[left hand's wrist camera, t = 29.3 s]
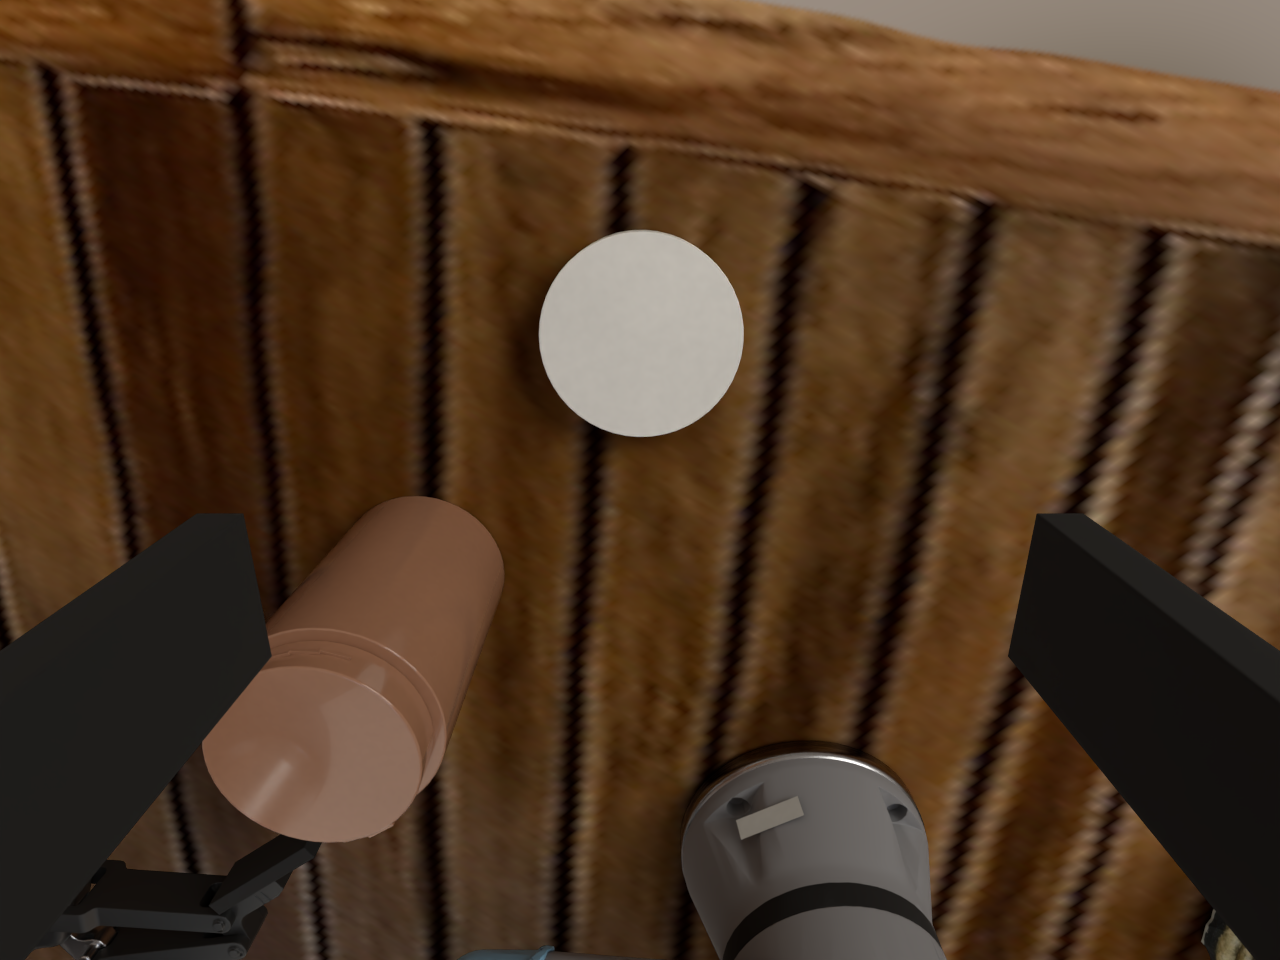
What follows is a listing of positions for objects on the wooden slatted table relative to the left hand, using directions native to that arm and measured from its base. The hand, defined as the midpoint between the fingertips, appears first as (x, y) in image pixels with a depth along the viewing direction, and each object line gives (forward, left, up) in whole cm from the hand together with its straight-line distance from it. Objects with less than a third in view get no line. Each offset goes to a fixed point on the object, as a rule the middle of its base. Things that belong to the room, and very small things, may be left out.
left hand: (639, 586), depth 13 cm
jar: (-14, +11, -26) cm, 31 cm away
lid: (0, 0, -24) cm, 24 cm away
